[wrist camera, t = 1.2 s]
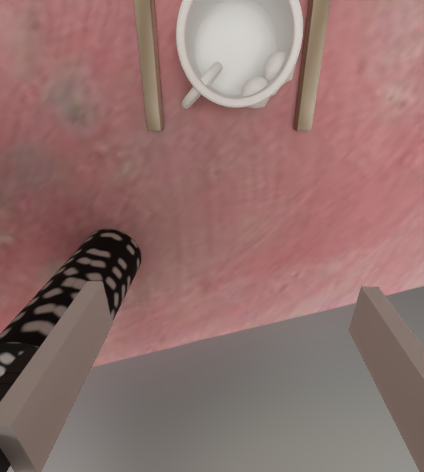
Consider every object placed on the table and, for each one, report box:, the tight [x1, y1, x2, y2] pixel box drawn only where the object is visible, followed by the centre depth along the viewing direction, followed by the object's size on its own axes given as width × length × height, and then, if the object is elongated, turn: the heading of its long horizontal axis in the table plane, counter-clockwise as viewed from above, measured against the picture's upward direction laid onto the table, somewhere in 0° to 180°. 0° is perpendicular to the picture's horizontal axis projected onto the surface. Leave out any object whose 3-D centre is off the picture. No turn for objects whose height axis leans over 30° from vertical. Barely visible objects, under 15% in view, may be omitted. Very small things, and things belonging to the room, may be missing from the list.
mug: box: [176, 0, 303, 109], centre depth 26 cm, size 12×10×9 cm
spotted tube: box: [0, 229, 141, 377], centre depth 33 cm, size 8×8×20 cm
